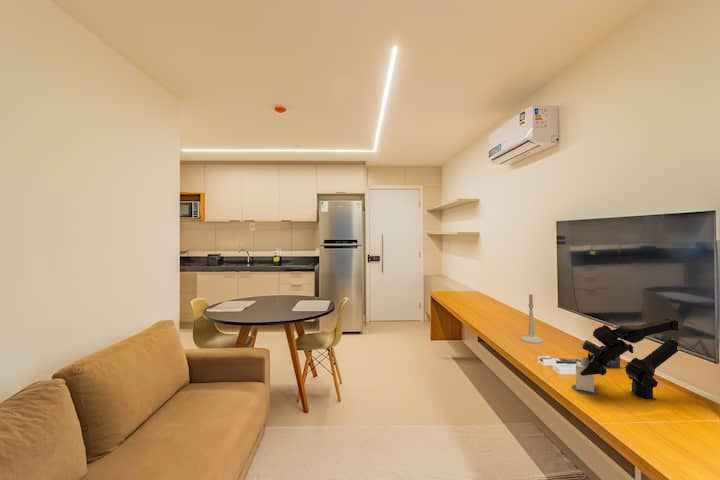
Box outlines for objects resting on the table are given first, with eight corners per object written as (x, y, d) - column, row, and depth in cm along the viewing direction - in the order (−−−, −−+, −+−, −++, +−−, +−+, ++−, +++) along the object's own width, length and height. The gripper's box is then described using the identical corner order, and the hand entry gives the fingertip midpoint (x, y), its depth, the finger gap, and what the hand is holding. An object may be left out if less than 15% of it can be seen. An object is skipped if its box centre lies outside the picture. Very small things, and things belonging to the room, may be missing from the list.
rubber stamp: (593, 386, 151) (593, 356, 150) (594, 392, 145) (593, 361, 145) (576, 383, 154) (575, 354, 154) (576, 388, 149) (575, 359, 148)
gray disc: (604, 396, 146) (604, 393, 146) (583, 398, 144) (583, 395, 144) (586, 385, 155) (585, 383, 155) (566, 387, 154) (566, 385, 154)
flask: (618, 366, 176) (618, 345, 175) (621, 369, 173) (621, 347, 173) (598, 365, 178) (598, 345, 177) (601, 367, 175) (601, 347, 175)
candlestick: (545, 343, 213) (545, 295, 212) (524, 343, 215) (523, 295, 214) (538, 337, 226) (538, 292, 225) (517, 336, 228) (517, 291, 227)
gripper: (594, 330, 155) (566, 350, 161) (596, 341, 139) (564, 363, 145) (616, 350, 151) (586, 370, 157) (620, 364, 135) (587, 386, 141)
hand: (581, 371), depth 150 cm, fingers closed on rubber stamp, 6 cm apart
